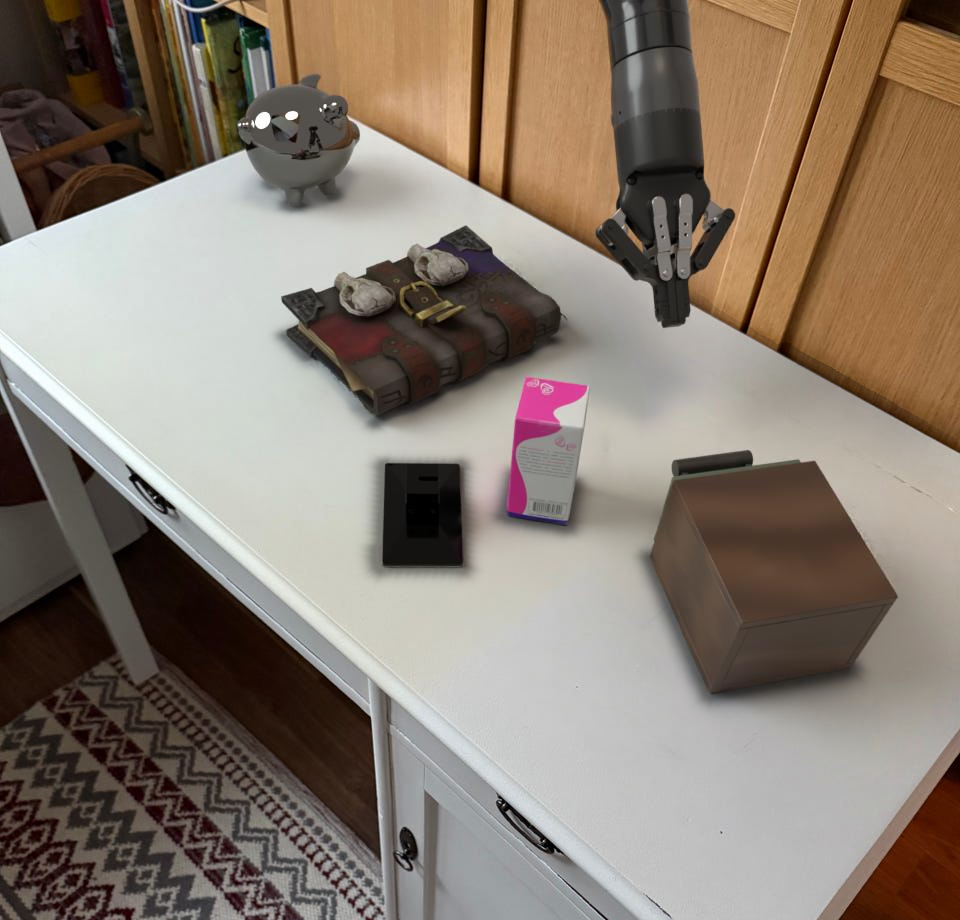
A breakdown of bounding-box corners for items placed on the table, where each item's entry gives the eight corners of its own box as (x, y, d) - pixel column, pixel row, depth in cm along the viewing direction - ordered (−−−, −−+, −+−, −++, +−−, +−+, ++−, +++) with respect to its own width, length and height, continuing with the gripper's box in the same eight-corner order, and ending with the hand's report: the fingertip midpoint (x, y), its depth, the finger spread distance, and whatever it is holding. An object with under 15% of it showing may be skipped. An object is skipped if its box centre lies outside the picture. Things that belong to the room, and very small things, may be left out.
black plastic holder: (463, 568, 82) (464, 532, 78) (379, 567, 81) (376, 532, 78) (459, 466, 89) (461, 428, 85) (382, 465, 88) (380, 428, 85)
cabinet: (649, 557, 83) (672, 479, 76) (779, 537, 86) (815, 460, 78) (709, 693, 75) (742, 623, 68) (851, 668, 77) (898, 596, 70)
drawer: (637, 504, 86) (654, 440, 79) (752, 488, 88) (778, 424, 81) (708, 663, 76) (734, 604, 70) (836, 640, 78) (872, 581, 72)
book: (372, 430, 91) (368, 368, 85) (280, 333, 99) (271, 270, 93) (580, 337, 101) (590, 276, 95) (482, 256, 109) (486, 195, 103)
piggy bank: (380, 195, 115) (377, 97, 106) (267, 226, 110) (253, 126, 101) (339, 152, 121) (332, 55, 111) (229, 180, 115) (212, 81, 106)
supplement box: (575, 481, 88) (593, 383, 79) (567, 526, 85) (585, 431, 76) (514, 471, 89) (525, 373, 79) (504, 516, 85) (514, 419, 76)
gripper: (598, 109, 77) (619, 327, 81) (746, 99, 80) (761, 311, 83) (571, 141, 85) (592, 340, 88) (707, 131, 87) (723, 325, 90)
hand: (674, 325), depth 85 cm, fingers closed
